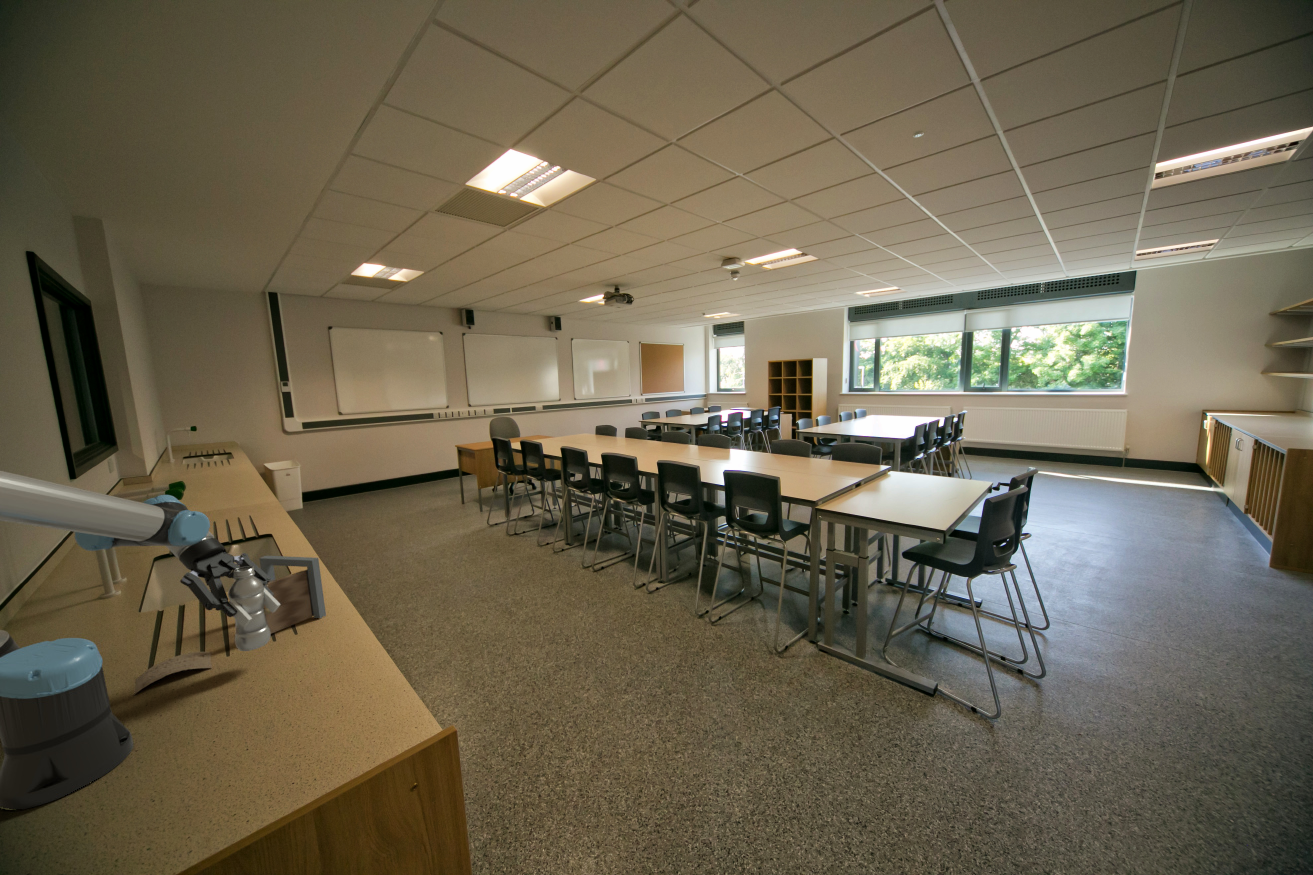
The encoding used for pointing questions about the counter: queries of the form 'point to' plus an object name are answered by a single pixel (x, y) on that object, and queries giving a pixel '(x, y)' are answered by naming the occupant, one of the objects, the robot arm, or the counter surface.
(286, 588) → the door
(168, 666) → the clay tablet
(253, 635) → the silver metal bottle
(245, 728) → the counter surface
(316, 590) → the door frame
